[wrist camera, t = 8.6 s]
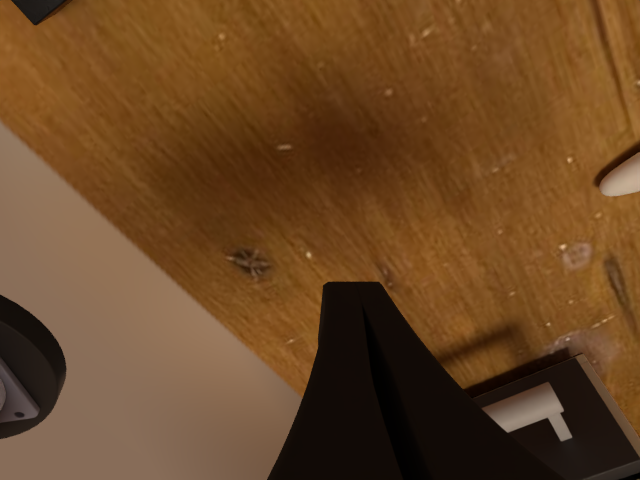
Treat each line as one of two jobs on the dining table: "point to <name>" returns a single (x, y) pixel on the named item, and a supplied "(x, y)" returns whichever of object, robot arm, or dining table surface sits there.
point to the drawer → (564, 424)
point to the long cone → (622, 178)
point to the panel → (40, 8)
